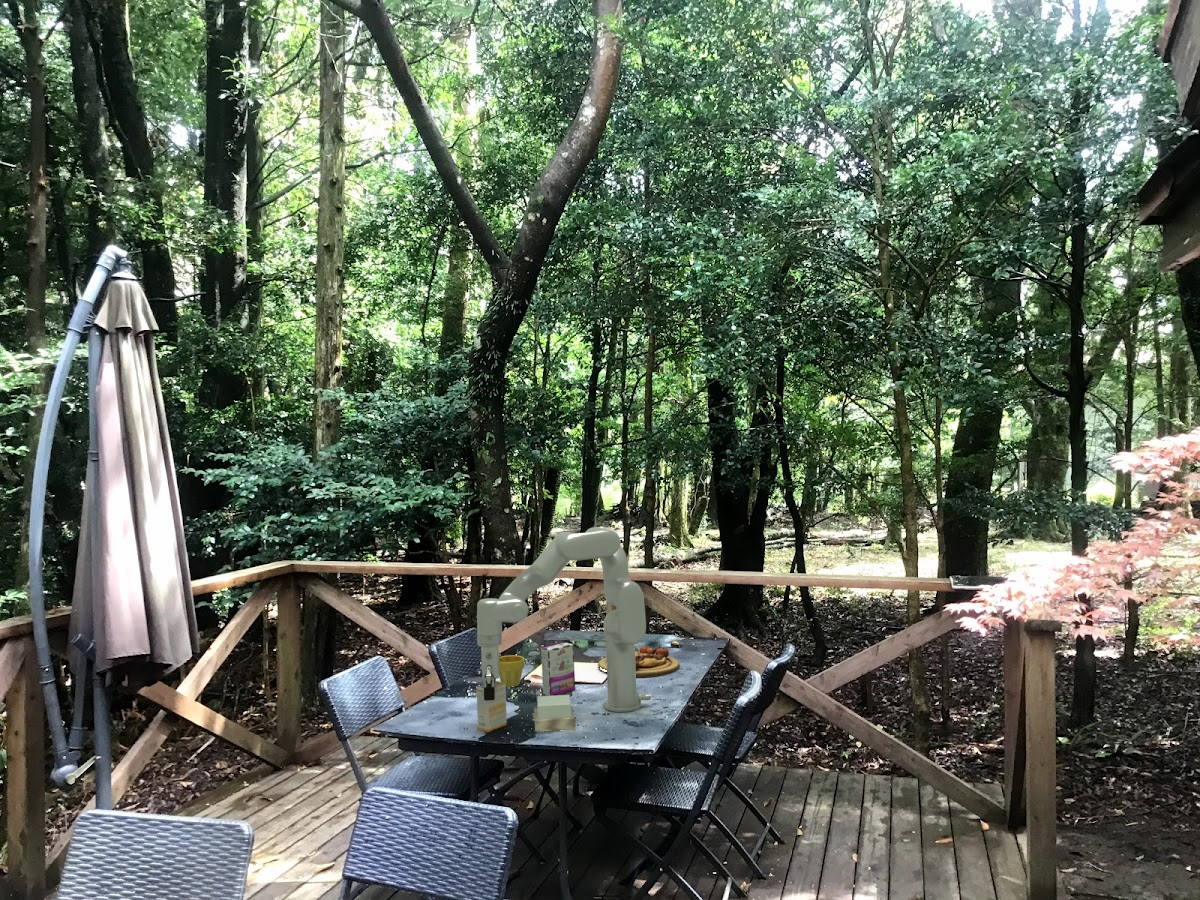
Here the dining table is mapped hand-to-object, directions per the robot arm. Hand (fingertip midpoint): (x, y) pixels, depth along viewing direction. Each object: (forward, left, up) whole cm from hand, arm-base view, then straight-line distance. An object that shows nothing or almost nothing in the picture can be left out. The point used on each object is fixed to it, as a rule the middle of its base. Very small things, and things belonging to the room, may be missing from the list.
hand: (490, 695), depth 238 cm
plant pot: (-5, -45, -10) cm, 47 cm away
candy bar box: (-22, -33, -10) cm, 41 cm away
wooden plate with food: (-55, -61, -11) cm, 83 cm away
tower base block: (-19, +1, -10) cm, 22 cm away
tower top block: (-20, +1, -6) cm, 21 cm away
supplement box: (0, 0, -10) cm, 10 cm away
